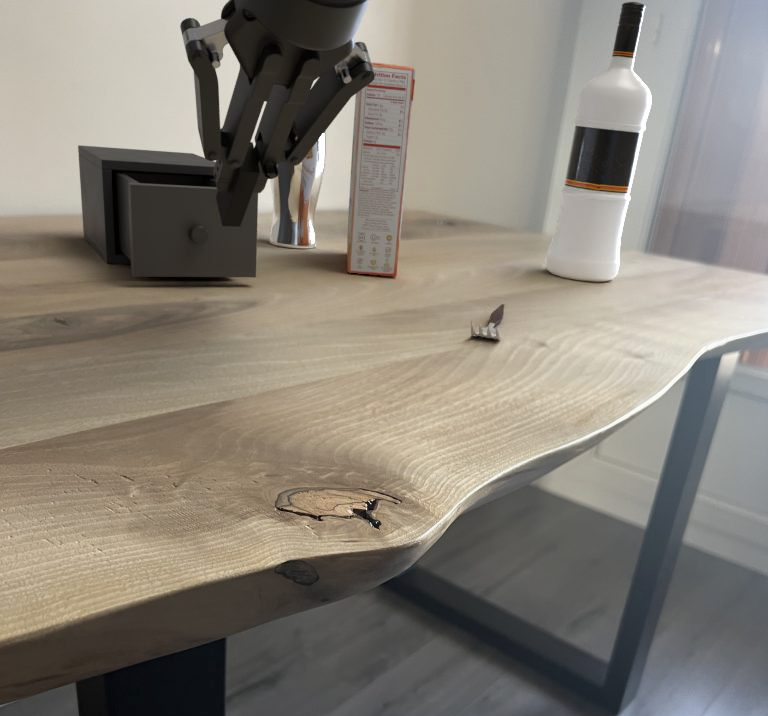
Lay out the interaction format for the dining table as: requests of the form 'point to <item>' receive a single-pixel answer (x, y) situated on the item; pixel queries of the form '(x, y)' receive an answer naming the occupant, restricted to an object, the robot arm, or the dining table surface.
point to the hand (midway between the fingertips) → (228, 212)
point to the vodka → (602, 163)
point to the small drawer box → (100, 195)
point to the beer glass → (297, 199)
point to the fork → (491, 324)
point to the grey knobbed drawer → (180, 227)
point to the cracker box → (379, 170)
